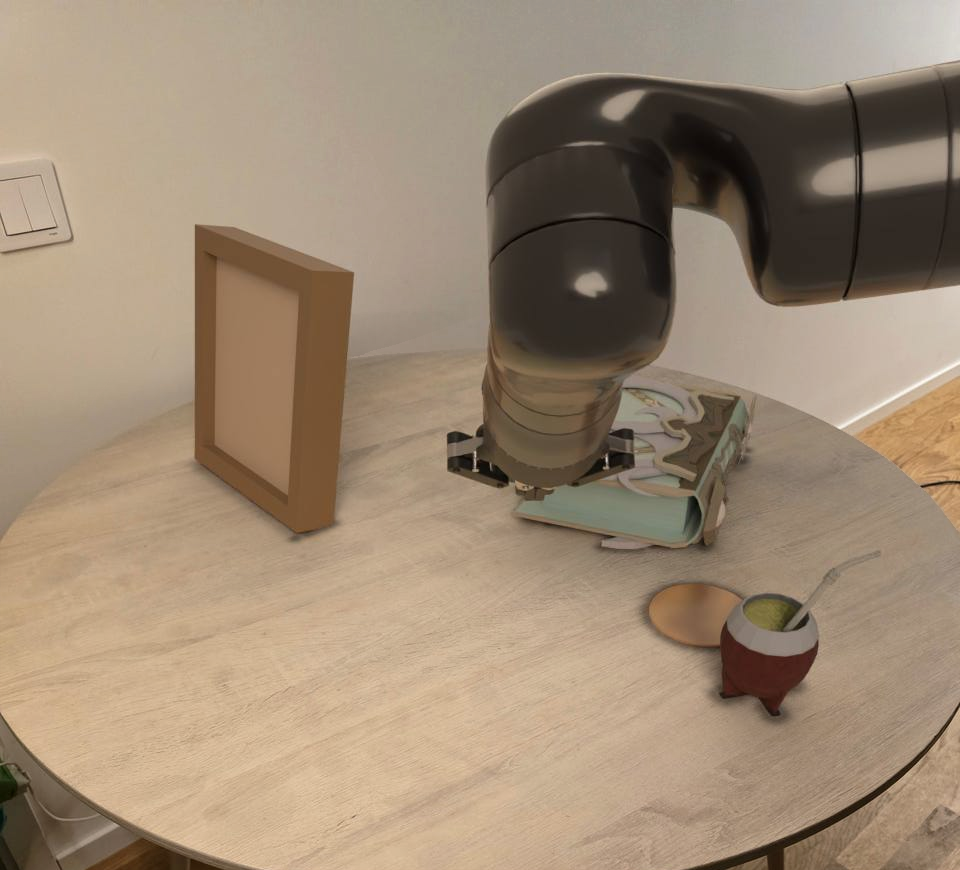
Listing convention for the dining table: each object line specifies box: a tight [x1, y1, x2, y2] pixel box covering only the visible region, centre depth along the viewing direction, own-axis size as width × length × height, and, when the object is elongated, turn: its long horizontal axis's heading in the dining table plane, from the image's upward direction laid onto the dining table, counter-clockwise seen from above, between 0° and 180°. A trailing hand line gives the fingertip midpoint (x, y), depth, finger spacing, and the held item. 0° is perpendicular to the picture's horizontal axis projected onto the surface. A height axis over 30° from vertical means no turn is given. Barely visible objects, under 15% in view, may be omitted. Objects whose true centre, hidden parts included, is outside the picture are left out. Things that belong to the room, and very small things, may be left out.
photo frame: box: [194, 223, 355, 534], centre depth 92 cm, size 15×22×25 cm
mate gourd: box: [718, 549, 882, 718], centre depth 66 cm, size 8×8×15 cm
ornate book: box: [510, 372, 758, 550], centre depth 95 cm, size 23×10×30 cm
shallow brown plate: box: [648, 583, 743, 648], centre depth 78 cm, size 9×9×1 cm
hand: (533, 488), depth 67 cm, fingers closed
